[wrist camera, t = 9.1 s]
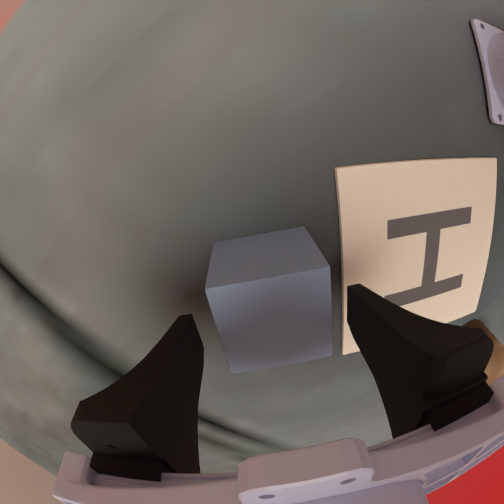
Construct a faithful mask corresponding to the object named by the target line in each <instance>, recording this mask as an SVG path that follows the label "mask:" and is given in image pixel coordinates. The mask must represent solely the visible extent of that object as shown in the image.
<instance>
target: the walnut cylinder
mask: <svg viewBox="0 0 504 504" xmlns="http://www.w3.org/2000/svg"><path fill="white" fill-rule="evenodd" d="M462 327H472V328H482V329H483V330H484V331H485V333H486V334H487V335H488V336H489V337H490V338H491V339H492V340H493V343H494V349H493V353H492V356H491V358H490V360H489V362H488V365H487V367H486V369H485V371H484V372H485V373H486V375H487V376H488V379H487V380H486V382H487V384H488V385H489V386H490V384H491V383H492V382H493V381H495V380H496V379H497V378H499V377H501V376H502V375H504V346H503V345H502V344H501V343H500V342H499V341H498V339H497V338H496V337H495V336H494V335H493V334H492V333H491V332H490V331H489V330H488V329H487V328H486V326H485V325H484V324H483V323H482V322H481V321H480V320H472V321H470V322H468V323H466V324H465V325H463V326H462Z"/></svg>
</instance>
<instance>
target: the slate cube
mask: <svg viewBox="0 0 504 504" xmlns="http://www.w3.org/2000/svg"><path fill="white" fill-rule="evenodd" d="M205 292H206V295H207V298H208V302H209V305H210V308H211V312H212V315H213V318H214V321H215V324H216V328H217V331H218V334H219V337H220V340H221V343H222V346H223V349H224V352H225V355H226V358H227V361H228V364H229V367H230V370H231V373H232V374H234V373H241V372H248V371H255V370H261V369H268V368H274V367H279V366H285V365H290V364H295V363H301V362H306V361H310V360H315V359H320V358H324V357H329V356H333V340H332V297H331V275H330V265H329V264H328V262H327V261H326V259H325V258H324V256H323V254H322V253H321V251H320V250H319V248H318V247H317V245H316V244H315V242H314V240H313V239H312V237H311V236H310V234H309V233H308V231H307V230H306V228H305V227H304V226H302V227H296V228H290V229H285V230H279V231H273V232H268V233H262V234H257V235H251V236H246V237H240V238H235V239H230V240H224V241H219V242H214V243H213V248H212V253H211V258H210V264H209V269H208V274H207V279H206V285H205Z"/></svg>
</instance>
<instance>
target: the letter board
mask: <svg viewBox="0 0 504 504" xmlns="http://www.w3.org/2000/svg"><path fill="white" fill-rule="evenodd" d="M334 171H335V181H336V191H337V202H338V215H339V229H340V247H341V273H342V348H341V352H342V354H343V355H345V354H349V353H353V352H357V351H360V350H359V348H358V346H357V344H356V342H355V340H354V338H353V336H352V333H351V331H350V328H349V325H348V323H347V286H349V285H354V284H358V283H360V284H361V285H363V286H365V287H367V288H368V289H370V290H372V291H373V292H375V293H377V294H378V295H380V296H382V297H383V298H385V299H387V300H388V301H390V302H392V303H394V304H396V305H398V306H400V307H402V308H404V309H406V310H408V311H410V312H412V313H415V314H417V315H420V316H422V317H425V318H428V319H431V320H435V321H438V322H442V323H448V322H451V321H453V320H456V319H458V318H461V317H463V316H466V315H468V314H470V313H473V312H475V311H476V308H477V304H478V301H479V297H480V293H481V289H482V285H483V280H484V276H485V271H486V266H487V261H488V256H489V250H490V244H491V237H492V229H493V221H494V211H495V199H496V180H497V158H494V157H468V158H438V159H419V160H404V161H391V162H380V163H369V164H359V165H350V166H341V167H334Z"/></svg>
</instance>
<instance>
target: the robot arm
mask: <svg viewBox="0 0 504 504" xmlns="http://www.w3.org/2000/svg"><path fill="white" fill-rule="evenodd" d="M471 25H472V29H473V32H474V36H475V39H476V43H477V47H478V51H479V55H480V60H481V64H482V69H483V75H484V80H485V86H486V93H487V100H488V109H489V117H490V120H491V122H492V123H494V124H501V125H504V31H502V30H500V29H498V28H496V27H494V26H491V25H489V24H487V23H485V22H482V21H480V20H478V19H472V20H471ZM498 117H499V118H498ZM347 323H348V325H349V328H350V331H351V333H352V336H353V338H354V340H355V342H356V344H357V346H358V348H359V350H360V351H361V353H362V355H363V357H364V359H365V361H366V363H367V364H368V366H369V368H370V370H371V372H372V374H373V376H374V378H375V381H376V384H377V386H378V389H379V392H380V395H381V398H382V401H383V404H384V407H385V410H386V413H387V417H388V421H389V424H390V428H391V432H392V436H393V439H391V440H388V441H386V442H383V443H380V444H377V445H374V446H371V447H367V448H366V445H365V443H364V441H363V440H359V439H354V438H348V439H342V440H336V441H332V442H328V443H323V444H319V445H314V446H309V447H304V448H299V449H294V450H288V451H282V452H275V453H268V454H262V455H258V456H253V457H249V458H247V459H246V460H244V461H242V462H241V463H239V464H238V468H237V472H233V473H212V474H200V465H199V452H198V402H199V394H200V387H201V380H202V373H203V366H204V346H203V344H202V341H201V338H200V335H199V333H198V330H197V327H196V324H195V321H194V319H193V316H192V314H188V315H181V316H179V317H178V318H177V319H176V321H175V322H174V323H173V324H172V326H171V327H170V328H169V330H168V331H167V332H166V333H165V335H164V336H163V337H162V338H161V340H160V341H159V342H158V343H157V344H156V345H155V347H154V348H153V349H152V350H151V351H150V352H149V353H148V354H147V356H146V357H145V358H144V359H143V360H142V361H141V362H140V363H138V364H137V365H136V366H135V367H134V368H133V369H132V370H131V371H129V372H128V373H127V374H125V375H124V376H123V377H122V378H120V379H119V380H118V381H116V382H115V383H113V384H112V385H110V386H109V387H107V388H105V389H104V390H102V391H100V392H98V393H97V394H95V395H93V396H90V397H88V398H86V399H84V400H82V401H80V402H79V405H78V407H77V409H76V412H75V414H74V417H73V419H72V422H71V429H72V431H73V432H74V434H75V435H76V436H77V437H78V438H79V439H80V440H81V441H82V442H83V443H84V444H85V445H86V446H87V447H88V448H89V449H90V450H91V451H92V452H93V455H92V458H90V457H88V456H86V455H83V454H78V453H73V452H69V451H65V454H64V457H63V460H62V463H61V466H60V469H59V472H58V475H57V478H56V482H55V485H54V488H53V492H52V495H53V496H54V497H55V498H57V499H58V500H60V501H62V502H63V503H65V504H429V503H428V501H427V498H426V495H427V494H429V493H431V492H432V491H434V490H436V489H438V488H440V487H441V486H443V485H445V484H447V483H448V482H450V481H452V480H453V479H455V478H457V477H458V476H460V475H462V474H463V473H465V472H466V471H467V470H469V469H471V468H472V467H474V466H475V465H477V464H478V463H479V462H481V461H482V460H484V459H485V458H487V457H488V456H489V455H491V454H492V453H494V452H495V451H496V450H497V449H499V448H500V447H502V446H503V445H504V375H502V376H501V377H499V378H497V379H496V380H495V381H493V382H492V383H491V384H490V386H489V385H488V384H487V382H486V380H487V379H488V376H487V375H486V373H485V372H484V371H485V369H486V367H487V365H488V362H489V360H490V358H491V356H492V353H493V349H494V343H493V340H492V339H491V338H490V337H489V336H488V335H487V334H486V333H485V331H484V330H483V329H482V328H472V327H462V326H456V325H450V324H446V323H442V322H438V321H435V320H431V319H428V318H425V317H422V316H420V315H417V314H415V313H412V312H410V311H408V310H406V309H404V308H402V307H400V306H398V305H396V304H394V303H392V302H390V301H388V300H387V299H385V298H383V297H382V296H380V295H378V294H377V293H375V292H373V291H372V290H370V289H368V288H367V287H365V286H363V285H361V284H360V283H358V284H354V285H349V286H347Z"/></svg>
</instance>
